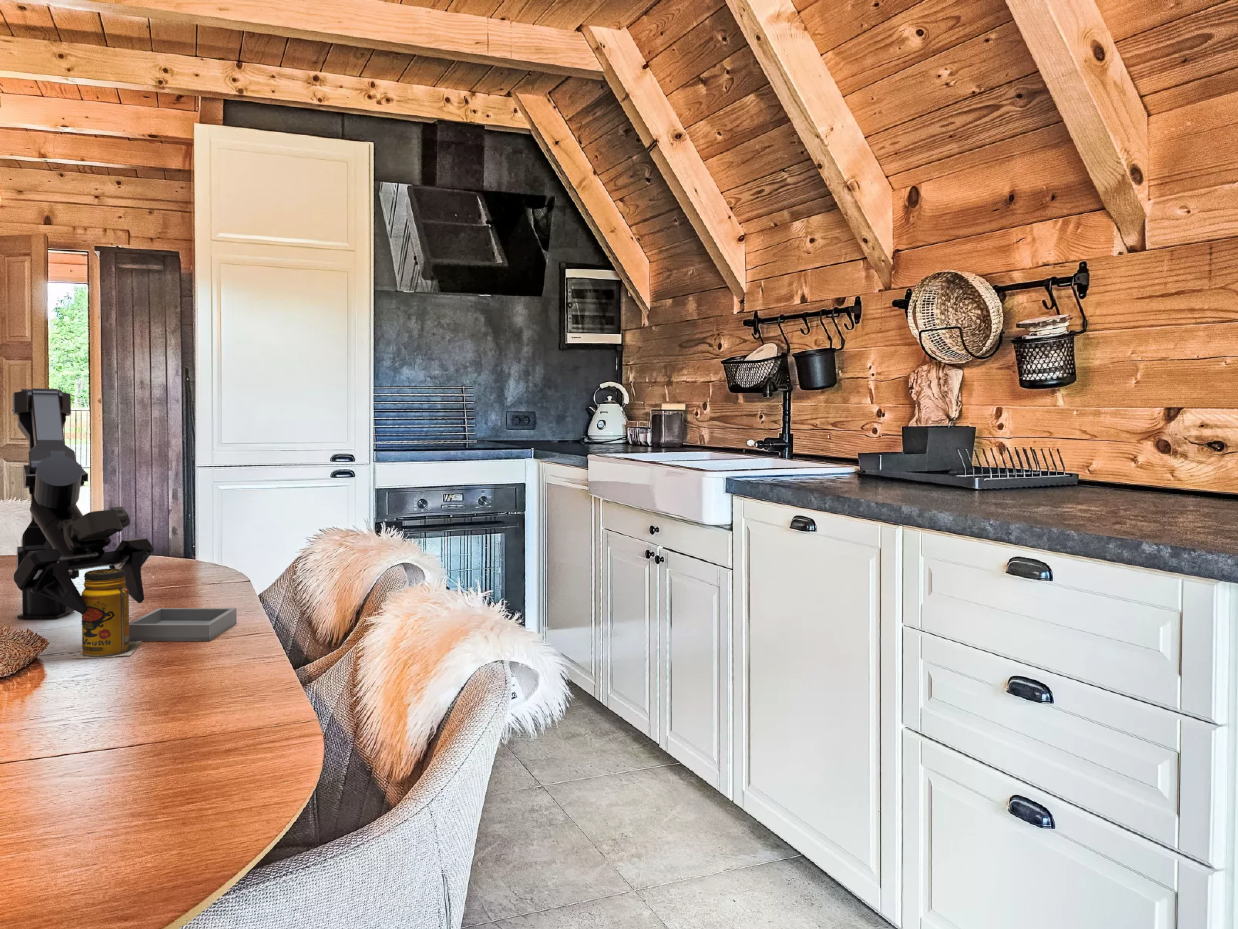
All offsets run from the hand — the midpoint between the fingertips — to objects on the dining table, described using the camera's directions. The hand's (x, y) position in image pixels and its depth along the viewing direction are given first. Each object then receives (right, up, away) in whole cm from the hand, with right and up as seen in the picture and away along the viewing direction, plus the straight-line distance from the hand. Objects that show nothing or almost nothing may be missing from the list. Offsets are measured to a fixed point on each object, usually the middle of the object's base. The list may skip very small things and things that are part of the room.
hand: (114, 606), depth 135 cm
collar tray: (+4, -6, +13) cm, 15 cm away
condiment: (-1, -7, +1) cm, 7 cm away
